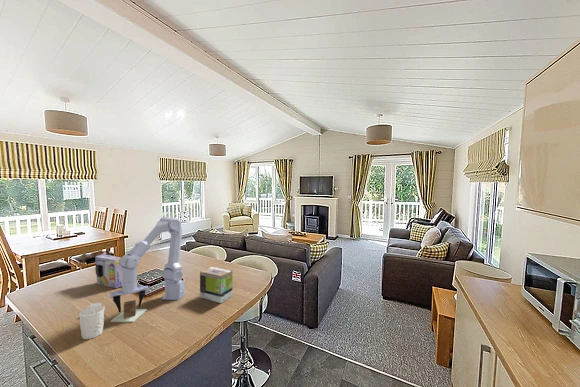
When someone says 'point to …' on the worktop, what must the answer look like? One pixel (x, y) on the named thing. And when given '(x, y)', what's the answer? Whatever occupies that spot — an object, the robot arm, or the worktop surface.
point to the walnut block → (129, 308)
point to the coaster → (129, 319)
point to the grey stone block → (95, 304)
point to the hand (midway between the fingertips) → (129, 309)
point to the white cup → (91, 321)
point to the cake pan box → (108, 271)
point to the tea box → (216, 284)
